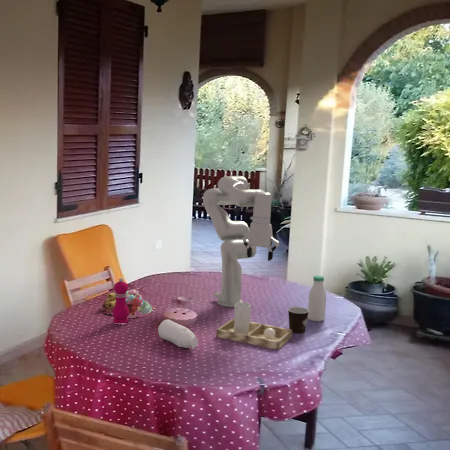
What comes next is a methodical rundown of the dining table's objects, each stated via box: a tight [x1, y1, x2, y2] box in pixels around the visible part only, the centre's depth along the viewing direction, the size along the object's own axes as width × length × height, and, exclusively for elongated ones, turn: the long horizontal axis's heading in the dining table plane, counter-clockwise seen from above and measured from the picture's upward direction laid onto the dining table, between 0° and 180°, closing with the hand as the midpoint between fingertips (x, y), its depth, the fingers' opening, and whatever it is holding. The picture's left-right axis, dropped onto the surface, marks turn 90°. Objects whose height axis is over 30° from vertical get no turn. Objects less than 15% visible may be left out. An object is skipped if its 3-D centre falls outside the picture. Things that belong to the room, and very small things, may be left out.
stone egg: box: [264, 328, 276, 340], centre depth 239 cm, size 5×5×5 cm
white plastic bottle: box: [157, 319, 199, 350], centre depth 232 cm, size 8×19×8 cm, turn 42°
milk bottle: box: [307, 275, 327, 322], centre depth 267 cm, size 8×8×20 cm
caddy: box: [216, 317, 293, 351], centre depth 242 cm, size 27×16×4 cm, turn 65°
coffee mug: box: [287, 306, 309, 335], centre depth 251 cm, size 12×9×10 cm
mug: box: [233, 301, 252, 334], centre depth 244 cm, size 10×7×12 cm, turn 160°
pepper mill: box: [111, 277, 129, 324], centre depth 253 cm, size 7×7×20 cm
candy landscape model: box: [100, 289, 155, 317], centre depth 272 cm, size 25×24×9 cm
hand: (259, 258), depth 260 cm, fingers open, 9 cm apart
